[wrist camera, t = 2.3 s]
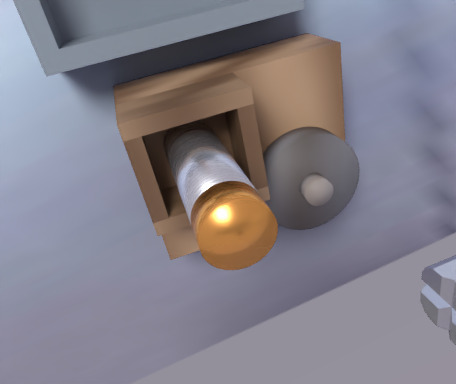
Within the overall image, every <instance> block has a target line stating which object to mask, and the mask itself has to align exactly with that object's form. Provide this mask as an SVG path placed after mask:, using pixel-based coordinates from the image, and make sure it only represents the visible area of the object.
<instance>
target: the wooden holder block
mask: <svg viewBox="0 0 456 384" xmlns="http://www.w3.org/2000/svg"><path fill="white" fill-rule="evenodd" d="M113 88H114V99H115V109H116V120H117V126H118V129H119V131H120V134H121V137H122V140H123V142H124V145H125V148H126V151H127V153H128V156H129V159H130V161H131V164H132V167H133V170H134V172H135V175H136V178H137V181H138V183H139V186H140V189H141V192H142V194H143V197H144V200H145V202H146V205H147V208H148V211H149V213H150V216H151V219H152V222H153V224H154V227H155V230H156V232H157V235H158V236H160V235H162V237H163V240H164V243H165V245H166V248H167V251H168V254H169V256H170V259H171V260H172V259H175V258H178V257H181V256H184V255H187V254H190V253H193V252H196V251H199V250H200V249H199V246H198V243H197V240H196V238H195V235H194V232H193V229H192V226H191V224H190V221H189V218H188V215H187V213H186V210H185V207H184V204H183V201H182V199H181V196H180V193H179V190H178V187H177V185H176V182H175V179H174V176H173V174H172V171H171V168H170V165H169V162H168V160H167V157H166V154H165V151H164V147H163V141H164V136H165V134H166V132H167V130H168V129H169V128H172V127H176V126H179V125H182V124H186V123H189V122H193V121H196V120H200V119H201V120H203V121H205V122H206V123H207V124H208V125H209V126H210V127H211V128H212V130H213V131H214V132H215V134H216V135H217V137H218V138H219V139H220V141H221V142H222V143H223V145H224V146H225V148H226V149H227V150H228V152H229V153H230V155H231V156H232V157H233V159H234V160H235V161H236V163H237V164H238V166H239V167H240V168H241V170H242V171H243V172H244V174H245V175H246V177H247V178H248V179H249V181H250V182H251V184H252V185H253V186H254V188H255V189H256V190H257V192H258V193H259V195H260V196H261V197H262V199H263V200H264V201H265V203H266V204H267V206H268V207H269V208H270V210H271V211H272V213H273V214H274V216H275V218H276V220H277V224H279V225H281V226H283V227H285V228H289V229H294V230H305V229H311V228H314V227H317V226H320V225H322V224H324V223H326V222H328V221H329V220H331V219H333V218H334V217H335V216H336V215H338V214H339V213H340V212H341V211H342V210H343V209H344V208H345V206H346V205H347V204H348V203H349V201H350V200H351V198H352V196H353V194H354V192H355V190H356V187H357V184H358V180H359V163H358V159H357V156H356V154H355V152H354V151H353V149H352V148H351V147H350V146H349V145H348V144H347V143H346V142H345V129H344V108H343V88H342V68H341V47H340V42H337V41H333V40H330V39H326V38H322V37H319V36H315V35H311V34H308V33H306V34H302V35H299V36H295V37H291V38H288V39H284V40H280V41H277V42H273V43H269V44H266V45H262V46H258V47H255V48H251V49H247V50H243V51H240V52H236V53H232V54H229V55H225V56H221V57H218V58H214V59H210V60H207V61H203V62H199V63H196V64H192V65H188V66H185V67H181V68H177V69H173V70H170V71H166V72H162V73H159V74H155V75H151V76H148V77H144V78H140V79H137V80H133V81H129V82H126V83H122V84H118V85H114V86H113Z"/></svg>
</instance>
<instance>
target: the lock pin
mask: <svg viewBox="0 0 456 384" xmlns="http://www.w3.org/2000/svg"><path fill="white" fill-rule="evenodd" d="M163 147H164V151H165V154H166V157H167V160H168V162H169V165H170V168H171V171H172V174H173V176H174V179H175V182H176V185H177V187H178V190H179V193H180V196H181V199H182V201H183V204H184V207H185V210H186V213H187V215H188V218H189V221H190V224H191V226H192V229H193V232H194V235H195V238H196V240H197V243H198V246H199V249H200V251H201V254H202V256H203V257H204V259H205V260H206V261H207V262H208V263H209V264H211V265H212V266H214V267H216V268H219V269H223V270H238V269H243V268H246V267H249V266H251V265H253V264H255V263H257V262H258V261H260V260H261V259H262V258H263V257H264V256H265V255H266V254H267V253H268V252H269V251H270V250H271V248H272V247H273V245H274V243H275V240H276V238H277V233H278V225H277V220H276V218H275V216H274V214H273V213H272V211H271V210H270V208H269V207H268V206H267V204H266V203H265V201H264V200H263V199H262V197H261V196H260V195H259V193H258V192H257V190H256V189H255V188H254V186H253V185H252V184H251V182H250V181H249V179H248V178H247V177H246V175H245V174H244V172H243V171H242V170H241V168H240V167H239V166H238V164H237V163H236V161H235V160H234V159H233V157H232V156H231V155H230V153H229V152H228V150H227V149H226V148H225V146H224V145H223V143H222V142H221V141H220V139H219V138H218V137H217V135H216V134H215V132H214V131H213V130H212V128H211V127H210V126H209V125H208V124H207V123H206V122H205V121H203V120H201V119H200V120H196V121H193V122H189V123H186V124H182V125H179V126H176V127H172V128H169V129H168V130H167V132H166V134H165V136H164V141H163Z"/></svg>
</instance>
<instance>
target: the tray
mask: <svg viewBox="0 0 456 384" xmlns="http://www.w3.org/2000/svg"><path fill="white" fill-rule="evenodd" d="M13 1H14V3H15V6H16V8H17V10H18V13H19V15H20V17H21V19H22V22H23V24H24V26H25V29H26V31H27V33H28V36H29V38H30V40H31V42H32V45H33V47H34V49H35V52H36V54H37V56H38V58H39V61H40V63H41V65H42V68H43V70H44V72H45V75H46V76H50V75H54V74H58V73H62V72H65V71H69V70H73V69H77V68H81V67H85V66H88V65H92V64H96V63H100V62H104V61H107V60H111V59H115V58H119V57H123V56H127V55H130V54H134V53H138V52H142V51H146V50H149V49H153V48H157V47H161V46H165V45H168V44H172V43H176V42H180V41H184V40H188V39H191V38H195V37H199V36H203V35H207V34H210V33H214V32H218V31H222V30H226V29H230V28H233V27H237V26H241V25H245V24H249V23H252V22H256V21H260V20H264V19H268V18H271V17H275V16H279V15H283V14H287V13H291V12H294V11H298V10H302V9H305V5H304V0H13Z"/></svg>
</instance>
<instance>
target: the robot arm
mask: <svg viewBox="0 0 456 384" xmlns="http://www.w3.org/2000/svg"><path fill="white" fill-rule="evenodd" d="M422 280H423V281H424V282H425V283H426V285H425V286H424V287H423V289H422V290H421V303H422V305H423V308H424V311H425V312H426V314H427V315H428V317H429V318H430V319H431V320H432V321H433V322H434V323H435V325H437V326H438V327H441V328H444V329H447V330H449V335H450V340H451V341H452V342H453V343H454V344H455V345H456V255H455V256H452V257H450V258H448V259H445V260H443V261H440V262H438V263H436V264H433V265H431V266H428V267H426V268H425V269H424V270H423V272H422Z"/></svg>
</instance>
